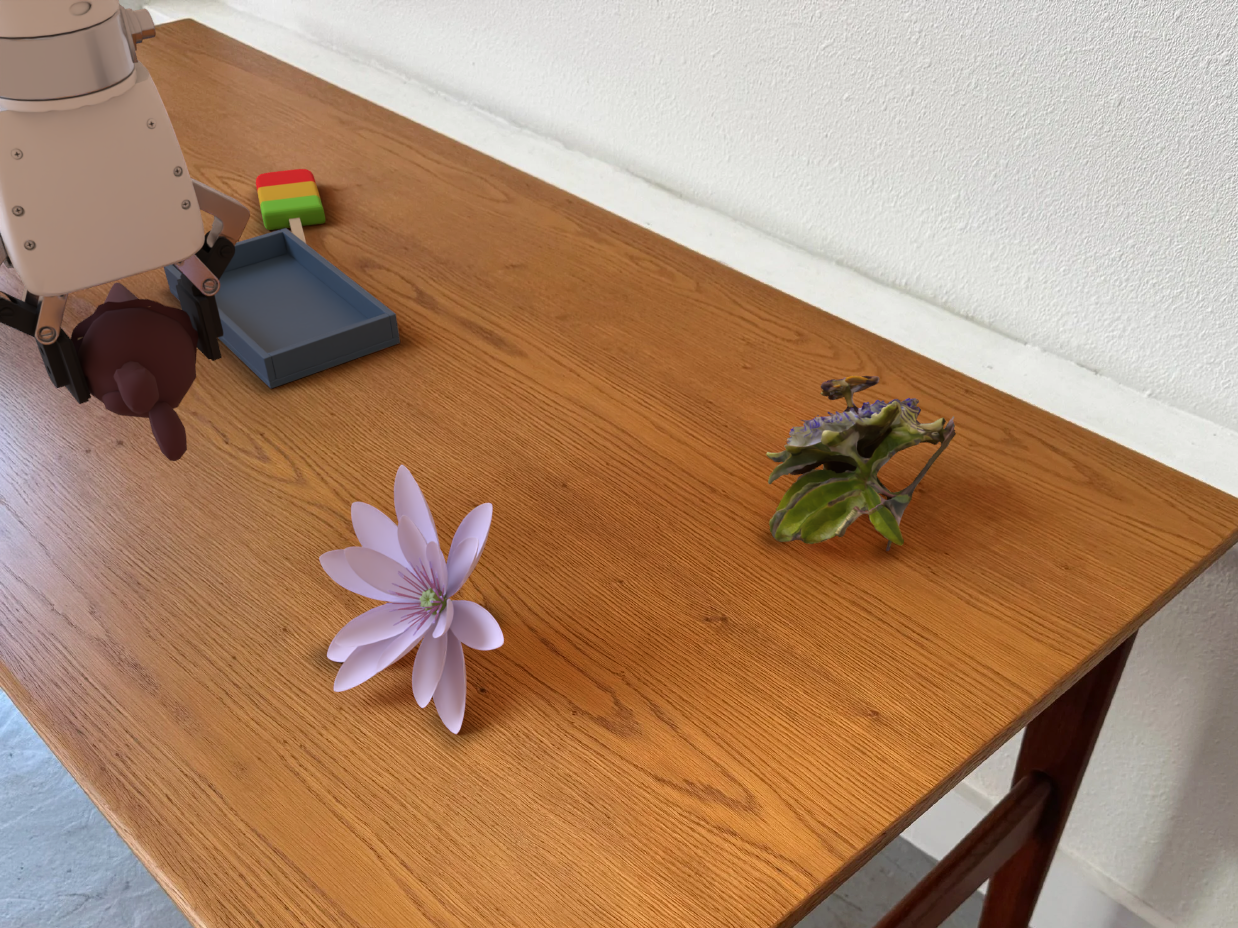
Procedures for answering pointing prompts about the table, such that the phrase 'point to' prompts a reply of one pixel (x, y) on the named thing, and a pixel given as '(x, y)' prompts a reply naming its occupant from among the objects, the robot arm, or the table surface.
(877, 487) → the passion flower
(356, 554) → the water lily
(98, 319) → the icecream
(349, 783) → the table surface
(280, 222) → the popsicle
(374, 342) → the tray
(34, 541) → the table surface
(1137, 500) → the table surface
